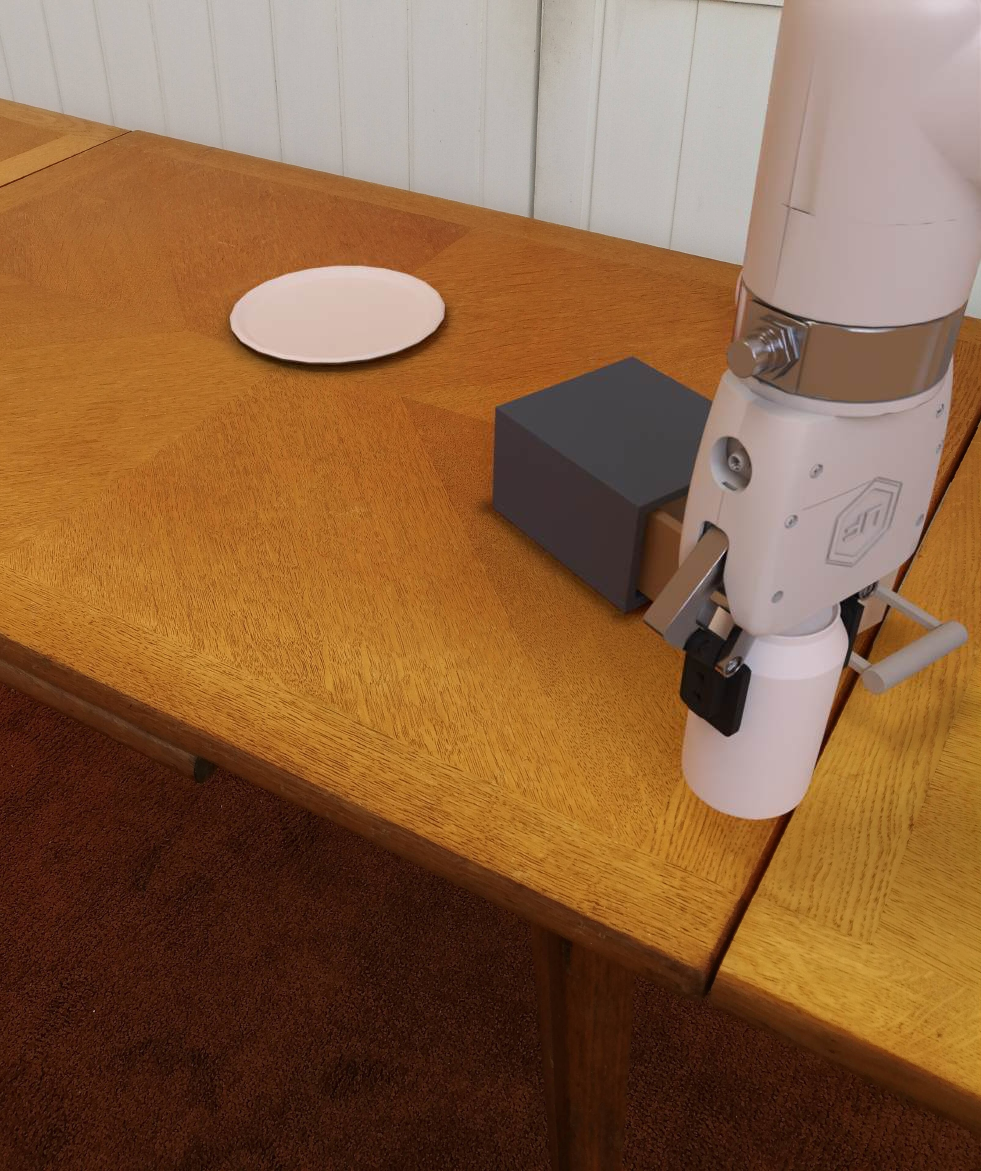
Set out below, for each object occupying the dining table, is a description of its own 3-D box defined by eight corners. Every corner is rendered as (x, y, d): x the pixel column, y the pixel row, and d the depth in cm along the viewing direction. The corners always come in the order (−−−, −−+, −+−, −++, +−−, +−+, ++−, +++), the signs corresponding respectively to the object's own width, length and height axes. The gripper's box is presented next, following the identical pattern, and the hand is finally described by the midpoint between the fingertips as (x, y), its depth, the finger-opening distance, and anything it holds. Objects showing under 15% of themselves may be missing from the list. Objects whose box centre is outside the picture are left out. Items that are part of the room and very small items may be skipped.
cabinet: (761, 546, 76) (785, 441, 70) (624, 614, 71) (639, 507, 65) (621, 454, 86) (632, 355, 80) (491, 507, 81) (494, 406, 75)
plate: (371, 259, 116) (371, 247, 116) (488, 329, 103) (489, 317, 102) (195, 311, 108) (193, 299, 107) (297, 396, 94) (295, 383, 93)
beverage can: (769, 725, 58) (811, 546, 50) (830, 815, 53) (886, 633, 45) (659, 748, 57) (684, 570, 49) (710, 842, 52) (747, 661, 44)
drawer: (969, 678, 64) (1007, 590, 60) (838, 761, 60) (868, 672, 55) (724, 517, 77) (740, 435, 73) (600, 575, 73) (610, 491, 68)
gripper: (748, 453, 33) (683, 823, 45) (1085, 298, 40) (953, 654, 51) (588, 362, 38) (566, 715, 50) (911, 237, 45) (826, 574, 56)
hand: (763, 681), depth 50 cm, fingers closed on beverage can, 6 cm apart
